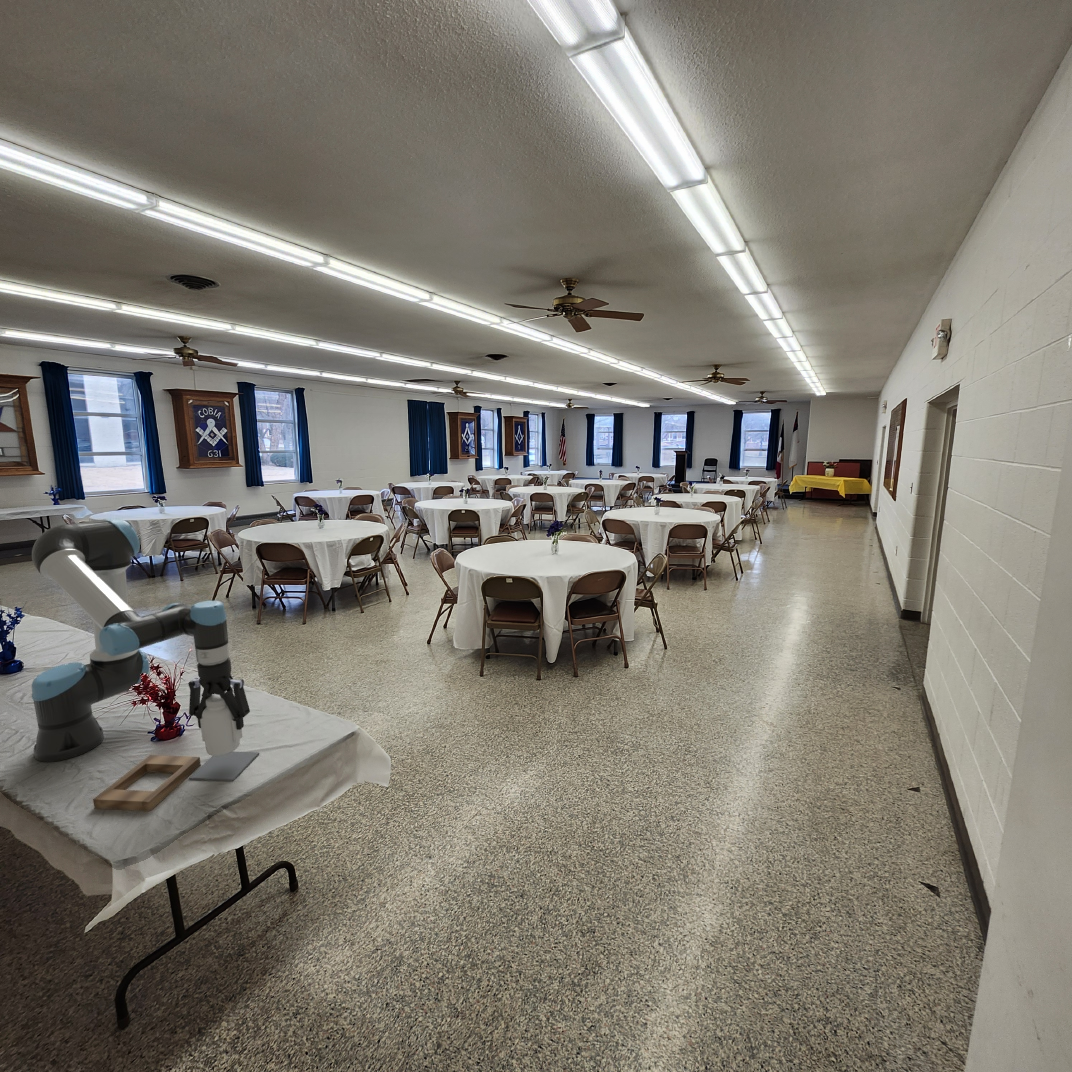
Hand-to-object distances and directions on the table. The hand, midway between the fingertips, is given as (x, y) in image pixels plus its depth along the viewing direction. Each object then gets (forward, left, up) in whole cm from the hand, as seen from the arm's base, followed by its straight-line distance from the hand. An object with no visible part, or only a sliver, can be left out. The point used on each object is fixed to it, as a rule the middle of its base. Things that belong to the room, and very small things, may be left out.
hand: (222, 739), depth 143 cm
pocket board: (-14, -9, -8) cm, 19 cm away
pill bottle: (0, 0, -3) cm, 3 cm away
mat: (0, 0, -8) cm, 8 cm away
